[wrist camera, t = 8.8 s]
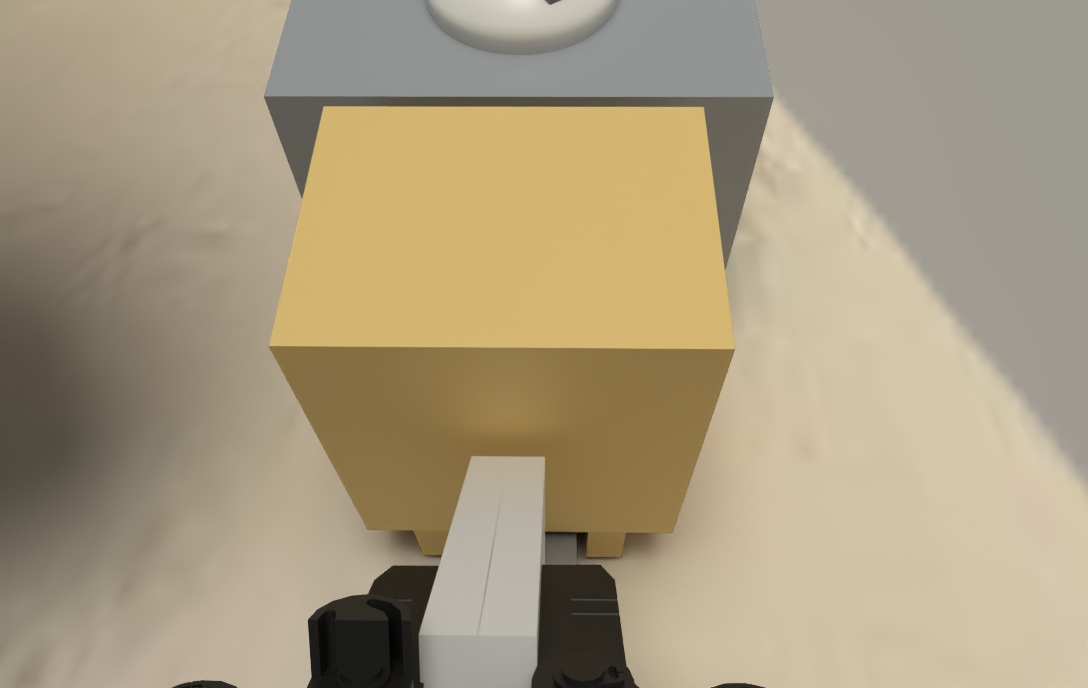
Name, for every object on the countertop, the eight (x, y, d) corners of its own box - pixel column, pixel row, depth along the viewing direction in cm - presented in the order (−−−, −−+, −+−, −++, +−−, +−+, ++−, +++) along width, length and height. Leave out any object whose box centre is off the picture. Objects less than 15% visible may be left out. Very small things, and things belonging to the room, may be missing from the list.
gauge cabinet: (707, 332, 28) (786, 50, 18) (351, 330, 28) (246, 50, 19) (688, 159, 32) (745, -141, 23) (379, 159, 32) (307, -140, 23)
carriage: (663, 557, 23) (735, 348, 14) (381, 554, 24) (268, 346, 14) (652, 374, 27) (703, 107, 17) (403, 372, 27) (323, 106, 18)
